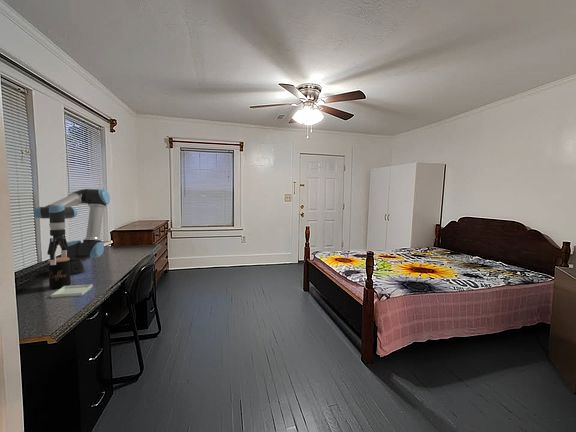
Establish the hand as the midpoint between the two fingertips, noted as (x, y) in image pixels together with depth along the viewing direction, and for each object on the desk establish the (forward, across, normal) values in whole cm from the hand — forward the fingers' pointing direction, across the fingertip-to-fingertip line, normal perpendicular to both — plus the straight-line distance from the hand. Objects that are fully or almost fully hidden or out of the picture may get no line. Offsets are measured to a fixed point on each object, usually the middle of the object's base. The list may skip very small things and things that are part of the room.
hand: (58, 262), depth 177 cm
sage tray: (+16, +12, +12) cm, 24 cm away
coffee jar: (+16, 0, 0) cm, 16 cm away
